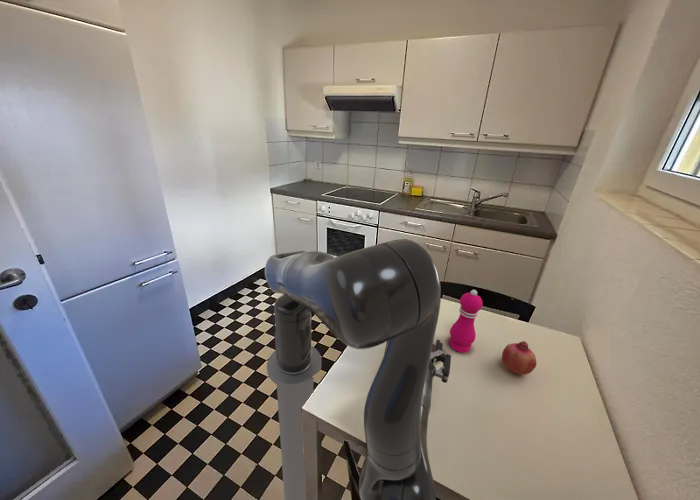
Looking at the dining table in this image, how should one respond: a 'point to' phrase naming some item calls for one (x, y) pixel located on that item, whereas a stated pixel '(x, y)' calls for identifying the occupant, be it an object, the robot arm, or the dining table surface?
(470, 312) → the pepper mill
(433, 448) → the dining table surface
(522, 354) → the fruit
